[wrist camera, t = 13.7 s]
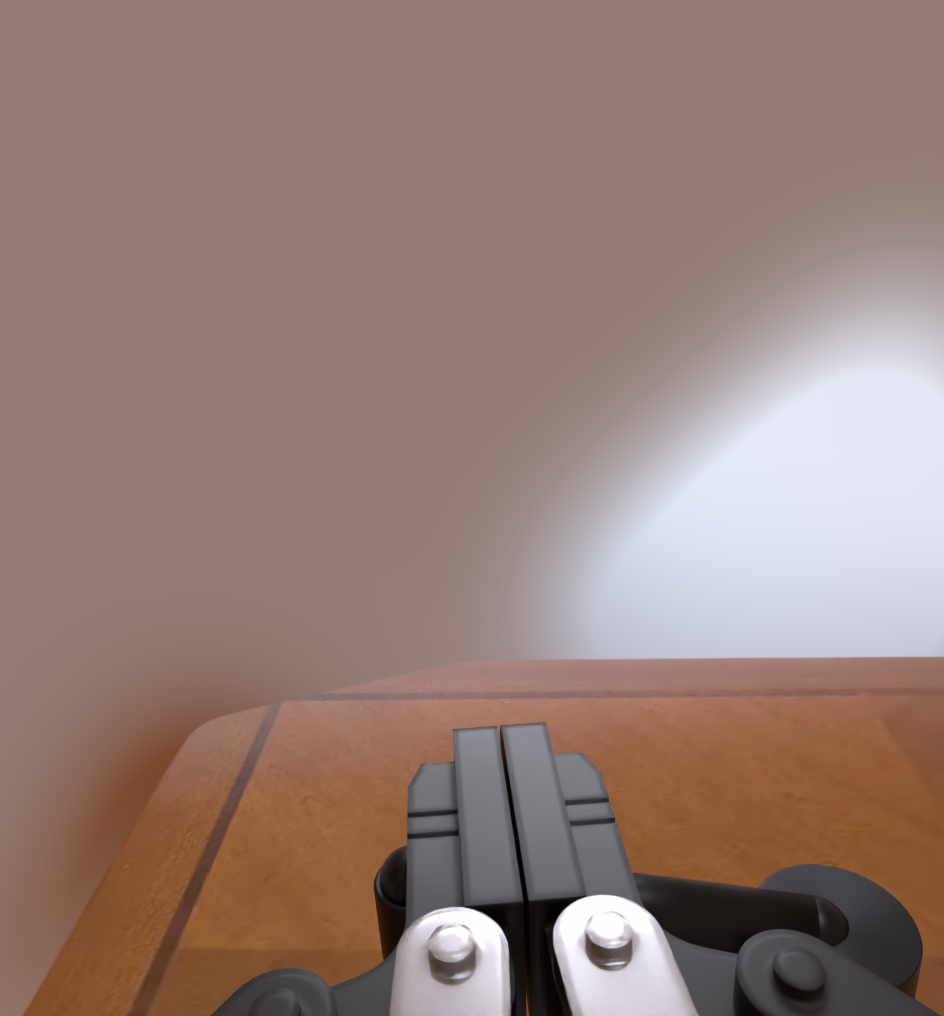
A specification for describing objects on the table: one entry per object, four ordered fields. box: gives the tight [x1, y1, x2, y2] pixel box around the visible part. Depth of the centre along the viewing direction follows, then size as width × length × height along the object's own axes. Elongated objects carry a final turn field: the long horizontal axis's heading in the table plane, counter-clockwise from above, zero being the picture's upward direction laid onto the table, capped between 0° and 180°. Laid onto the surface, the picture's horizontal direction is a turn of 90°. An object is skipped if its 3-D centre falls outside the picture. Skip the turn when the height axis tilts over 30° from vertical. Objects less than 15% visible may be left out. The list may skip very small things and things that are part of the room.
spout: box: [374, 846, 923, 999], centre depth 26 cm, size 16×4×5 cm, turn 77°
